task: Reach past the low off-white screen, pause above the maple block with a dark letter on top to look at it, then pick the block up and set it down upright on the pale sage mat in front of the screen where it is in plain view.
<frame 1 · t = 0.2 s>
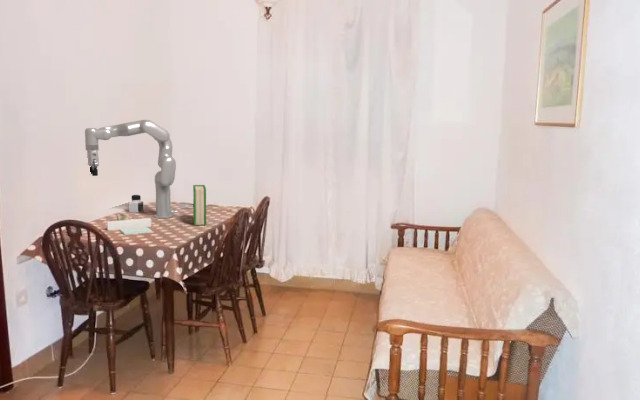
hand: (93, 174, 342), 31 cm above the table, tool pointing down, fingers open, 9 cm apart
off-white screen: (129, 228, 333), on the table
sage mat: (135, 231, 325), on the table
hardback book: (199, 223, 354), on the table
maple letter block: (122, 224, 344), on the table
medicine bottle: (136, 211, 385), on the table
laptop: (190, 207, 412), on the table
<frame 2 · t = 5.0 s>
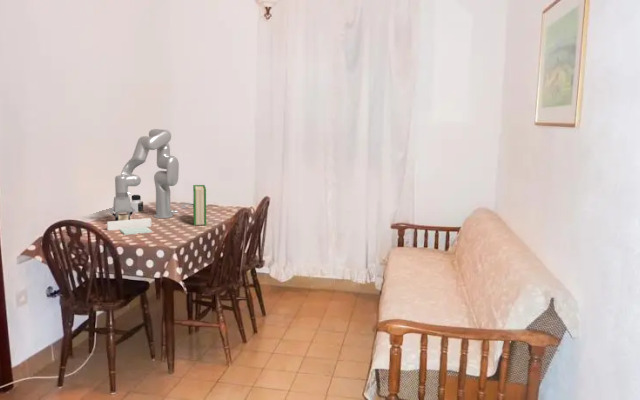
hand: (122, 222, 344), 1 cm above the table, tool pointing down, fingers closed on maple letter block, 6 cm apart
maple letter block: (122, 223, 344), on the table, touching gripper
everything else where it was.
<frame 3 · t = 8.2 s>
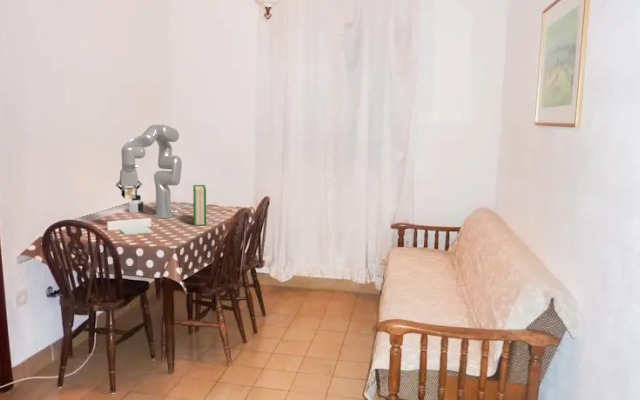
hand: (129, 196, 329), 20 cm above the table, tool pointing down, fingers closed on maple letter block, 6 cm apart
maple letter block: (129, 198, 329), point 19 cm above the table, touching gripper
everything else where it was.
when the fingers open (3 cm above the table, at t = 11.4 s): maple letter block drops 1 cm, resting on sage mat.
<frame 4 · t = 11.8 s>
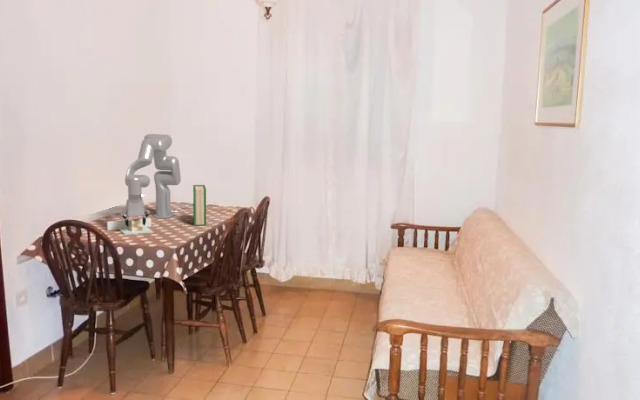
hand: (135, 225, 324), 4 cm above the table, tool pointing down, fingers open, 9 cm apart
maple letter block: (136, 229, 325), point 1 cm above the table, touching sage mat
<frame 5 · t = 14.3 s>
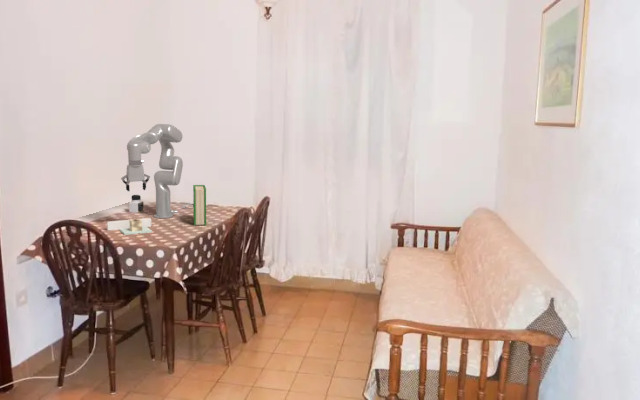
hand: (136, 190, 334), 23 cm above the table, tool pointing down, fingers open, 9 cm apart
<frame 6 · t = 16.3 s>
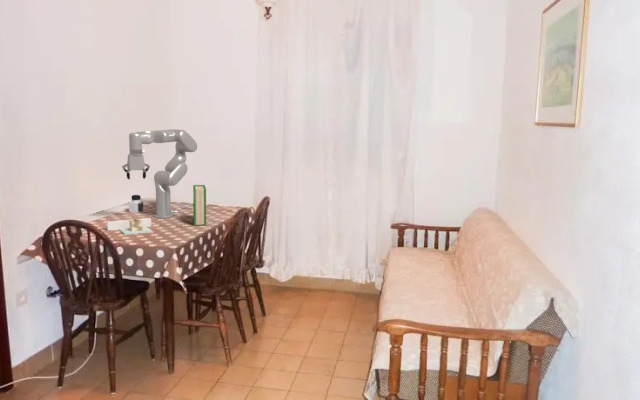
hand: (136, 178, 347), 28 cm above the table, tool pointing down, fingers open, 9 cm apart
at the end: maple letter block inside the target area on the sage mat (0.1 cm from its centre), point 1.0 cm above the sage mat's base; maple letter block tilted 0°; the gripper is holding nothing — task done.
